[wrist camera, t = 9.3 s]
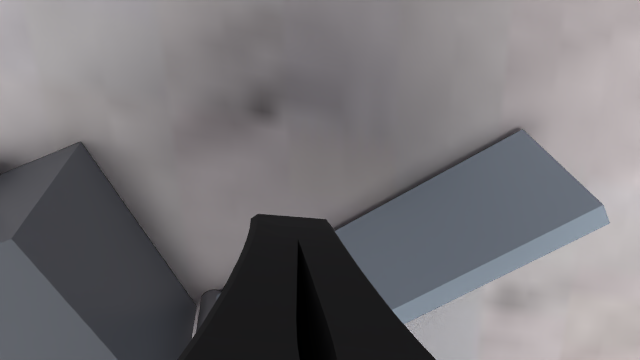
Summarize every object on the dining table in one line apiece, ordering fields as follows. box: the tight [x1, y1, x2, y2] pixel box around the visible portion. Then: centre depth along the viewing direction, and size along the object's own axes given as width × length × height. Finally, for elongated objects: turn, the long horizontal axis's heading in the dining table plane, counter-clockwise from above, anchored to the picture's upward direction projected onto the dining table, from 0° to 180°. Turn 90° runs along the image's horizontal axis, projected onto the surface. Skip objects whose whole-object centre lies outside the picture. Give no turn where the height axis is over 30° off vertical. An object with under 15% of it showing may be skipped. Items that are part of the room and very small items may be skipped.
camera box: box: [0, 142, 196, 360], centre depth 18 cm, size 10×7×7 cm
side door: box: [196, 129, 610, 332], centre depth 19 cm, size 16×2×6 cm, turn 121°
